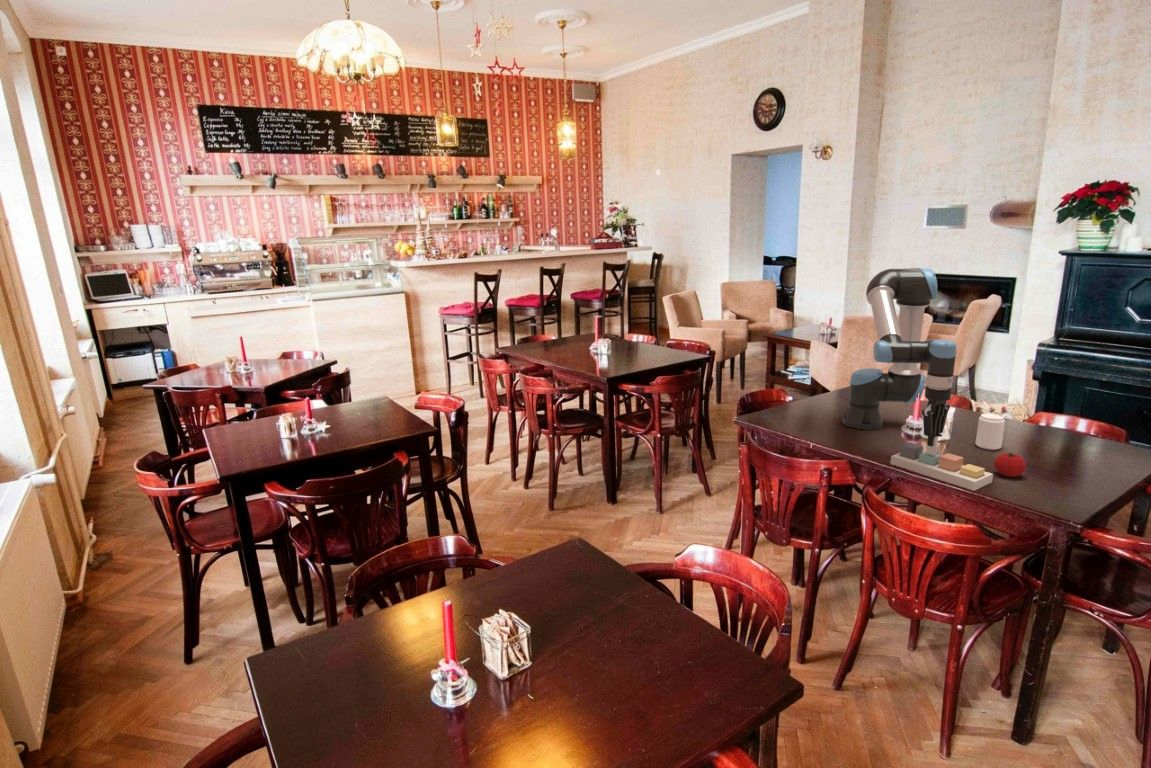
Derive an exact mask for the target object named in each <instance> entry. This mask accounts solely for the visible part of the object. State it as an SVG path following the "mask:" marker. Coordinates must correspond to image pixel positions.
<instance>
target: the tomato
mask: <svg viewBox="0 0 1151 768" xmlns="http://www.w3.org/2000/svg"><path fill="white" fill-rule="evenodd" d="M1026 464H1027V463H1026V461H1025V460H1024V458H1023V457H1022V456H1020V455H1018V454H1015V453H1012V452H1003V453H1000V454H999V455H997V456H996V457H995V459H994V461H993V466H994V468H995V470H996V471H997V473H998V474H1000V475H1002V476H1005V477H1011V478H1012V477H1013V478H1015V477H1018V476H1022V474H1023V473H1025V471H1026V469H1027V465H1026Z"/></svg>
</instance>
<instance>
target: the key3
mask: <svg viewBox="0 0 1151 768" xmlns="http://www.w3.org/2000/svg"><path fill="white" fill-rule="evenodd" d="M941 455H942V456H940V460H939V468H942V469H945V470H948V471H952V472H957V471H959V470H960V467H962V466H963V465H964V457H963V456H960V455H955V454H952V453H949V452H947V453H945V454H941Z"/></svg>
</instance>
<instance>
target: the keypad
mask: <svg viewBox="0 0 1151 768" xmlns="http://www.w3.org/2000/svg"><path fill="white" fill-rule="evenodd" d="M889 465H891V466H892V465H893V466H895V465H896V466H895V467H897V468H898V467H899V468H902V469H904V468H905V470H909V471H911V472H915V473H916V474H920V475H923V476H927V477H929V478H932V479H936V480H938V481H941V482H945V483H949V484H952V485H955V486H957V487H961V488H964V489H966V490H970V491H973V492H974V491H977V490H979V489H981V488H983V487H985V486H988V485H989V484H992V483H993V479H994V478H993V477H994V473H991V472H988V471H985V472H984V476H982V477H980V478H978V479H974V478H971V477H968V476H965V475H961V474H960V470H959V471H957V472H952V471H948V470H945V469H942V468H939V464H938V465H935V466H932V465H929V464H925V463H922V462H919V458H918V459H915V460H912V459H909V458H906V457H902V456H900V452H897V453H895V454H893V455H891V457H890V464H889ZM965 465H966V464H965ZM965 465H964V464H963V466H965Z"/></svg>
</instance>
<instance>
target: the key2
mask: <svg viewBox="0 0 1151 768" xmlns="http://www.w3.org/2000/svg"><path fill="white" fill-rule="evenodd" d="M942 455H943V454H939V453H936V455H935V456H932V455H929V454H926V451H924V452H922V454H919V462H922V463H925V464H929V465H932V466H935V465H938V464H939V460H940V456H942Z"/></svg>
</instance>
